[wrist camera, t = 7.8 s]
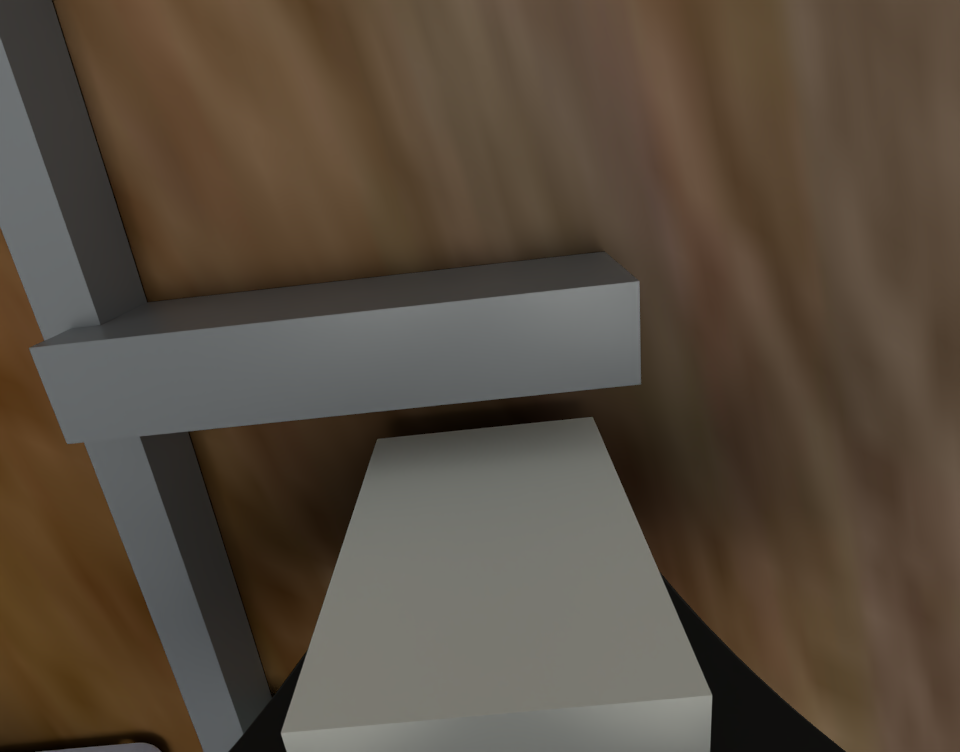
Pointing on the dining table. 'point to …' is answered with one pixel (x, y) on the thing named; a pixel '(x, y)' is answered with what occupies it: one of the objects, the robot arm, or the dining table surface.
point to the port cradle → (247, 359)
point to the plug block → (497, 608)
